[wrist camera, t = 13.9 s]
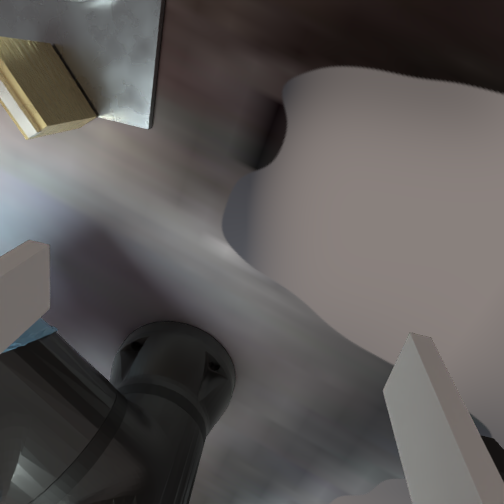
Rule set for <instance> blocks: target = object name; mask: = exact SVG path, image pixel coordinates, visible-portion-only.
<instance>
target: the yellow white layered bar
mask: <svg viewBox="0 0 504 504" xmlns="http://www.w3.org/2000/svg"><path fill="white" fill-rule="evenodd" d="M0 103H1V104H2V106H3V107H4V109H5V110H6V111H7V113H8V114H9V116H10V117H11V119H12V120H13V121H14V123H15V124H16V126H17V127H18V128H19V130H20V131H21V133H22V134H23V136H24V137H25V138H26V140H28V139H33V138H37V137H42V136H46V135H51V134H55V133H59V132H64V131H68V130H73V129H77V128H80V127H82V126H83V125H85V124H87V123H88V122H90V121H91V120H93V119H94V118H96V117H97V116H96V114H95V112H94V111H93V109H92V108H91V106H90V105H89V103H88V101H87V100H86V98H85V97H84V95H83V94H82V92H81V90H80V89H79V87H78V86H77V84H76V83H75V81H74V79H73V78H72V76H71V75H70V73H69V72H68V70H67V68H66V67H65V65H64V64H63V62H62V61H61V59H60V57H59V56H58V54H57V53H56V51H55V50H54V48H53V46H52V45H51V43H45V42H37V41H30V40H23V39H16V38H8V37H1V36H0Z"/></svg>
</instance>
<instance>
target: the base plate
mask: <svg viewBox="0 0 504 504" xmlns="http://www.w3.org/2000/svg"><path fill="white" fill-rule="evenodd" d="M164 8H165V0H0V36H1V37H8V38H16V39H23V40H30V41H37V42H45V43H51V45H52V46H53V48H54V50H55V51H56V53H57V54H58V56H59V57H60V59H61V61H62V62H63V64H64V65H65V67H66V68H67V70H68V72H69V73H70V75H71V76H72V78H73V79H74V81H75V83H76V84H77V86H78V87H79V89H80V90H81V92H82V94H83V95H84V97H85V98H86V100H87V101H88V103H89V105H90V106H91V108H92V109H93V111H94V112H95V114H96V116H97V117H100V118H104V119H108V120H112V121H116V122H121V123H125V124H129V125H133V126H137V127H141V128H145V129H151V128H152V122H153V112H154V103H155V93H156V84H157V74H158V65H159V55H160V46H161V36H162V27H163V17H164Z"/></svg>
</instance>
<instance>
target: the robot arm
mask: <svg viewBox="0 0 504 504" xmlns="http://www.w3.org/2000/svg"><path fill="white" fill-rule="evenodd" d="M49 309H50V245H49V244H44V243H40V242H36V241H32V240H28V241H26V242H24V243H23V244H21V245H19V246H18V247H16V248H14V249H13V250H11V251H9V252H7V253H6V254H4V255H2V256H1V257H0V504H189V501H190V497H191V493H192V489H193V485H194V481H195V478H196V474H197V470H198V466H199V462H200V458H201V454H202V450H203V446H204V442H205V439H206V436H207V435H208V434H209V432H210V431H211V430H212V428H213V427H214V425H215V424H216V423H217V421H218V420H219V419H220V417H221V416H222V414H223V413H224V412H225V410H226V409H227V407H228V405H229V403H230V400H231V397H232V393H233V389H234V384H235V371H234V367H233V364H232V361H231V359H230V357H229V355H228V353H227V352H226V351H225V349H224V348H223V347H222V346H221V345H220V344H219V343H218V342H217V341H216V340H215V339H214V338H213V337H211V336H210V335H208V334H207V333H205V332H204V331H202V330H200V329H198V328H195V327H193V326H190V325H187V324H183V323H177V322H156V323H151V324H148V325H145V326H143V327H140V328H139V329H137V330H135V331H134V332H133V333H131V334H130V335H129V336H128V338H127V339H126V340H125V341H124V343H123V344H122V346H121V347H120V349H119V350H118V352H117V354H116V356H115V359H114V361H113V365H112V371H111V376H110V382H109V381H108V380H107V379H106V378H105V377H104V376H103V375H102V374H100V373H99V372H98V371H97V370H96V369H95V368H94V367H93V366H92V365H91V364H90V363H89V362H87V361H86V360H85V359H84V358H83V357H82V356H81V355H80V354H79V353H78V352H77V351H76V350H75V349H73V348H72V347H71V346H70V345H69V344H68V343H67V342H66V341H65V340H64V339H63V338H62V337H61V336H60V335H59V334H58V333H57V332H56V331H58V329H57V328H56V327H54V326H50V325H49V324H47V323H46V322H45V321H44V320H43V319H41V318H40V317H42V316H43V315H44V314H45V313H46V312H47V311H48V310H49ZM383 393H384V397H385V401H386V405H387V409H388V413H389V416H390V420H391V424H392V428H393V432H394V436H395V439H396V443H397V447H398V451H399V455H400V459H401V462H402V466H403V470H404V474H405V478H406V482H407V485H408V489H409V493H410V497H411V500H412V504H504V449H503V448H502V447H501V446H500V445H499V444H498V443H497V442H496V441H495V439H493V438H489V437H485V436H481V435H480V434H479V432H478V430H477V428H476V426H475V424H474V422H473V420H472V418H471V416H470V414H469V412H468V410H467V408H466V406H465V404H464V402H463V400H462V398H461V396H460V394H459V392H458V390H457V388H456V386H455V384H454V382H453V380H452V378H451V377H450V374H449V372H448V370H447V368H446V367H445V364H444V362H443V360H442V358H441V356H440V354H439V352H438V350H437V348H436V347H435V344H434V342H433V340H432V338H431V337H427V336H423V335H418V334H415V333H409V335H408V337H407V339H406V342H405V344H404V346H403V348H402V350H401V352H400V355H399V357H398V359H397V361H396V363H395V365H394V367H393V370H392V372H391V374H390V376H389V378H388V380H387V383H386V385H385V387H384V389H383Z"/></svg>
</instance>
